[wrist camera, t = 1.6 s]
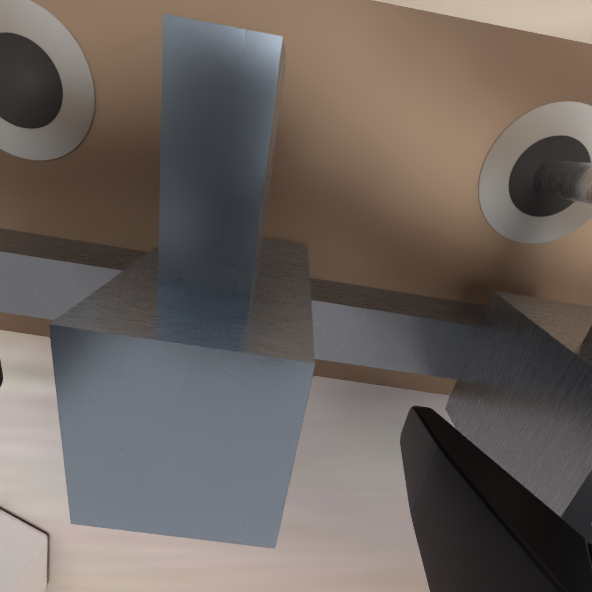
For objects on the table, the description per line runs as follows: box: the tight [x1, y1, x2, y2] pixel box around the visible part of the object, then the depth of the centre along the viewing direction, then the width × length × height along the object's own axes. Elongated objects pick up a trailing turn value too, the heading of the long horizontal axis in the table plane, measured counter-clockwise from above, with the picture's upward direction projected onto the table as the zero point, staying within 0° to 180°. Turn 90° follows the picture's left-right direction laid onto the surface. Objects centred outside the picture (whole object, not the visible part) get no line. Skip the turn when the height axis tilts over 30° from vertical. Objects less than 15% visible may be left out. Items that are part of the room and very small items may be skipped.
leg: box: [49, 14, 315, 548], centre depth 9 cm, size 9×4×7 cm, turn 171°
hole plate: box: [0, 0, 592, 395], centre depth 12 cm, size 12×25×1 cm, turn 81°
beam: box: [0, 161, 592, 543], centre depth 9 cm, size 9×22×7 cm, turn 81°
